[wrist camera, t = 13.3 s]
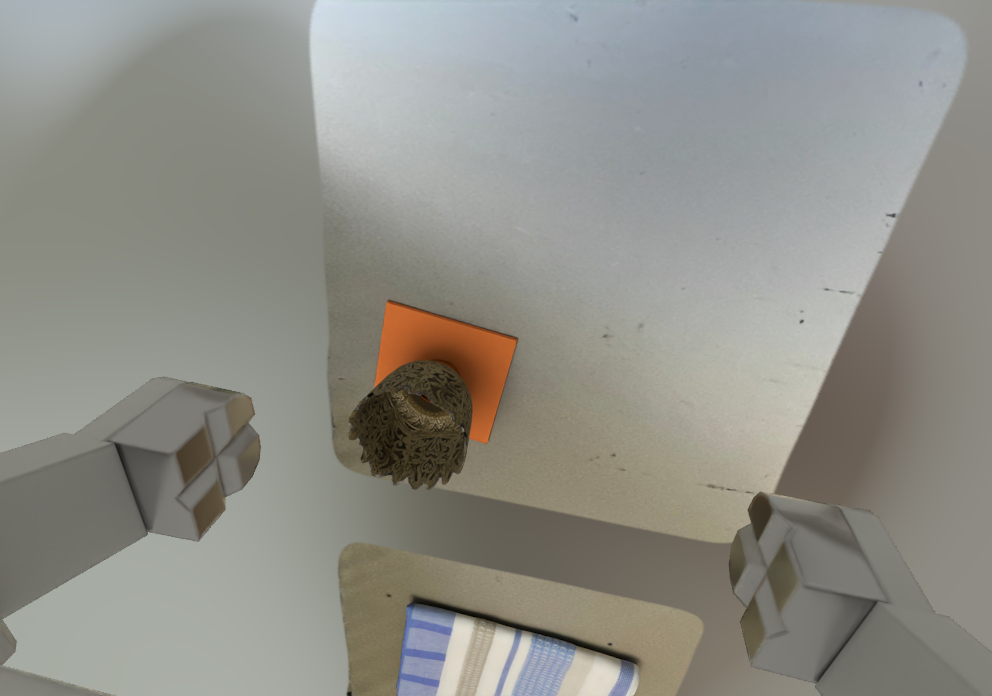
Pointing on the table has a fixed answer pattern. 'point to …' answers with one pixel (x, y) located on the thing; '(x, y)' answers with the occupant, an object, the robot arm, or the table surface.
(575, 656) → the dish towel
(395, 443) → the brown ornate vase
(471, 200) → the table surface
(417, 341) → the orange square board
